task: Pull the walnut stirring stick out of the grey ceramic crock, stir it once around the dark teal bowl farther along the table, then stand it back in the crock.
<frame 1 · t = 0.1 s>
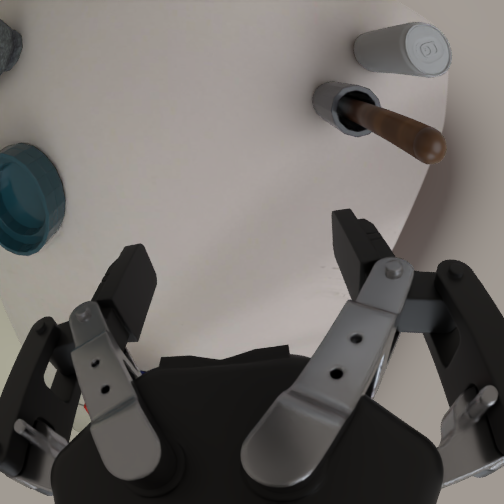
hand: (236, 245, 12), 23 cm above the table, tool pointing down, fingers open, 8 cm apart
stick: (333, 102, 28), resting on crock
crock: (332, 101, 29), on the table
beverage can: (371, 52, 25), on the table
mortar and pestle: (11, 50, 22), on the table
bowl: (27, 192, 33), on the table
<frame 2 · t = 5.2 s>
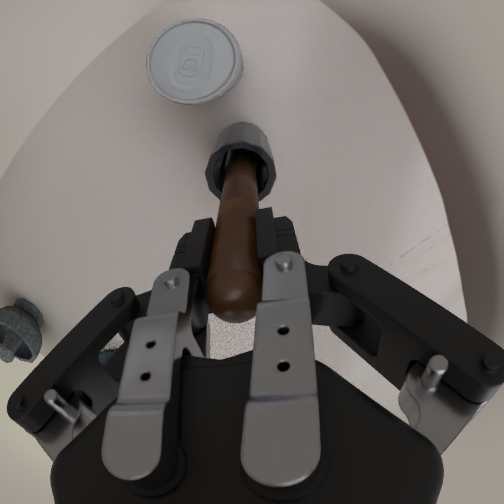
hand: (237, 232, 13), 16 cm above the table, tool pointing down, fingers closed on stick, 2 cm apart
stick: (242, 147, 26), resting on crock, touching gripper
crock: (242, 146, 26), on the table
beverage can: (215, 66, 22), on the table
mortar and pestle: (30, 310, 39), on the table
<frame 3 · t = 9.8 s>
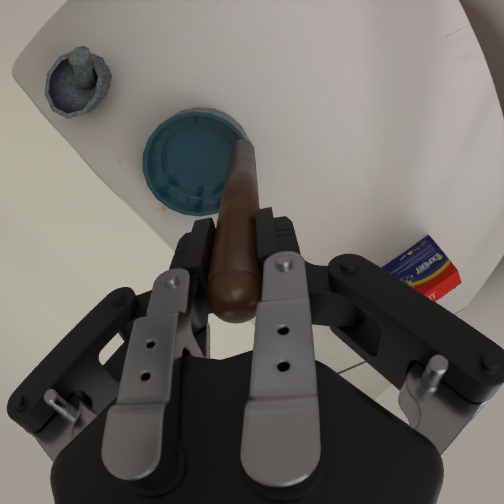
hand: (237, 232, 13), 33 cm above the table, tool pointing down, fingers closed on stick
stick: (242, 147, 26), point 17 cm above the table, touching gripper
toy box: (396, 264, 56), on the table
mortar and pestle: (97, 76, 35), on the table
bowl: (200, 156, 43), on the table
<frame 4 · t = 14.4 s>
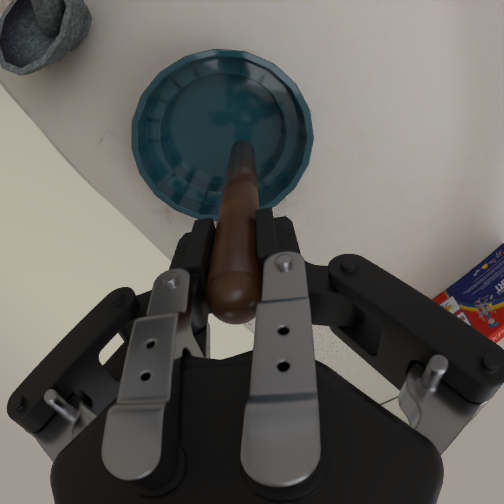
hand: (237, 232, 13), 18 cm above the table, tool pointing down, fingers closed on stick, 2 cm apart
stick: (242, 148, 26), point 3 cm above the table, touching gripper
toy box: (466, 281, 39), on the table
mortar and pestle: (72, 23, 19), on the table
bowl: (224, 129, 27), on the table
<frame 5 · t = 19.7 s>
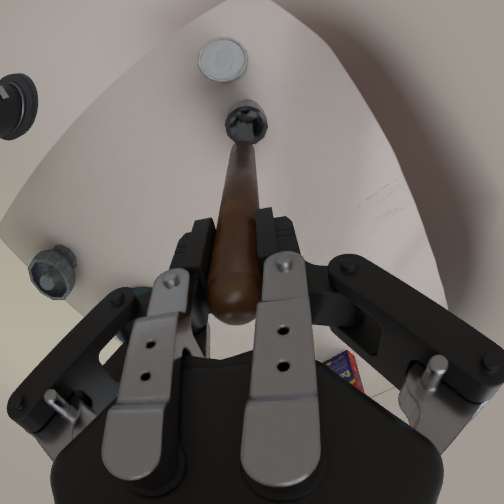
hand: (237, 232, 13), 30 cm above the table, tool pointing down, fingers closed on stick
stick: (242, 148, 26), point 15 cm above the table, touching gripper
toy box: (319, 368, 70), on the table
crock: (246, 116, 38), on the table
beverage can: (229, 63, 34), on the table
mortar and pestle: (65, 256, 50), on the table
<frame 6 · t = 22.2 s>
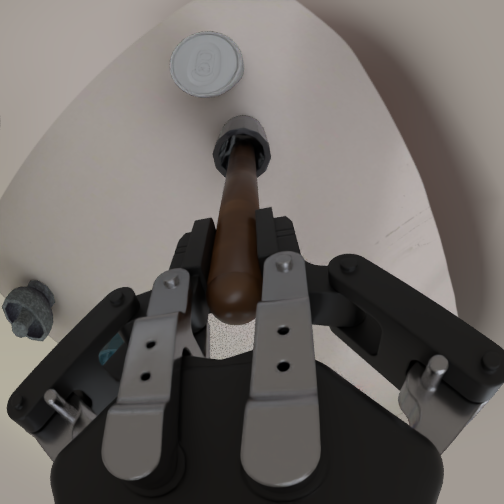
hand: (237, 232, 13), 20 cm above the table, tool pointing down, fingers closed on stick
stick: (242, 148, 26), point 5 cm above the table, touching gripper
crock: (242, 135, 30), on the table
beverage can: (220, 67, 26), on the table
mortar and pestle: (42, 291, 43), on the table
bowl: (140, 353, 51), on the table
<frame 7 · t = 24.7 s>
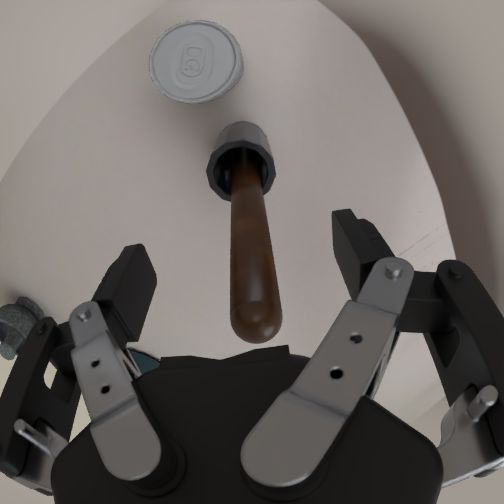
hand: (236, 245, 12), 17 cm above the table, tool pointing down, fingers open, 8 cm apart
stick: (243, 147, 26), point 1 cm above the table, tilted 6°, touching crock
crock: (242, 145, 27), on the table
beverage can: (216, 66, 22), on the table
mortar and pestle: (32, 308, 39), on the table
bowl: (135, 372, 47), on the table
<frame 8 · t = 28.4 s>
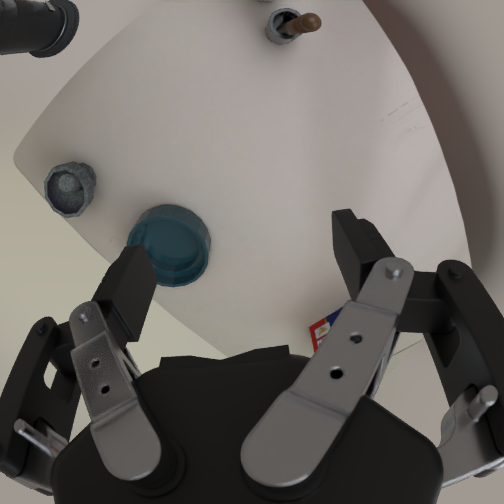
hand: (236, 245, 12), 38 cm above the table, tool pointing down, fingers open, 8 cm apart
stick: (281, 31, 36), point 1 cm above the table, tilted 6°, touching crock
toy box: (344, 312, 69), on the table
crock: (280, 31, 36), on the table
mortar and pestle: (84, 175, 48), on the table
bowl: (172, 239, 57), on the table
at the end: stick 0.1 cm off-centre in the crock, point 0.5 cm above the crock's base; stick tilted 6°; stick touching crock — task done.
